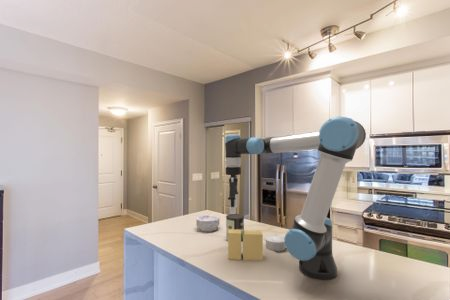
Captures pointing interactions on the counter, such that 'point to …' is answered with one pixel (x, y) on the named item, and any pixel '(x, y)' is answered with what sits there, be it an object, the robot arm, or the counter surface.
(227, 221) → the coffee can
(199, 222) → the paper bowls
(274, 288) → the counter surface
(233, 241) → the stub
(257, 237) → the tall yellow box
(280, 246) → the ramekin
